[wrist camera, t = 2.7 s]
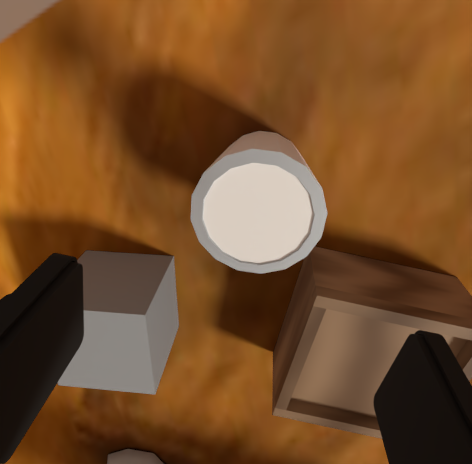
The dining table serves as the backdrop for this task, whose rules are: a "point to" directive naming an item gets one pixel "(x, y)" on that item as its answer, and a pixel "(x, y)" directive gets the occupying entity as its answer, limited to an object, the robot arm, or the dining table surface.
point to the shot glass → (259, 205)
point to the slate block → (125, 322)
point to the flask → (133, 457)
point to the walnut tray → (358, 335)
